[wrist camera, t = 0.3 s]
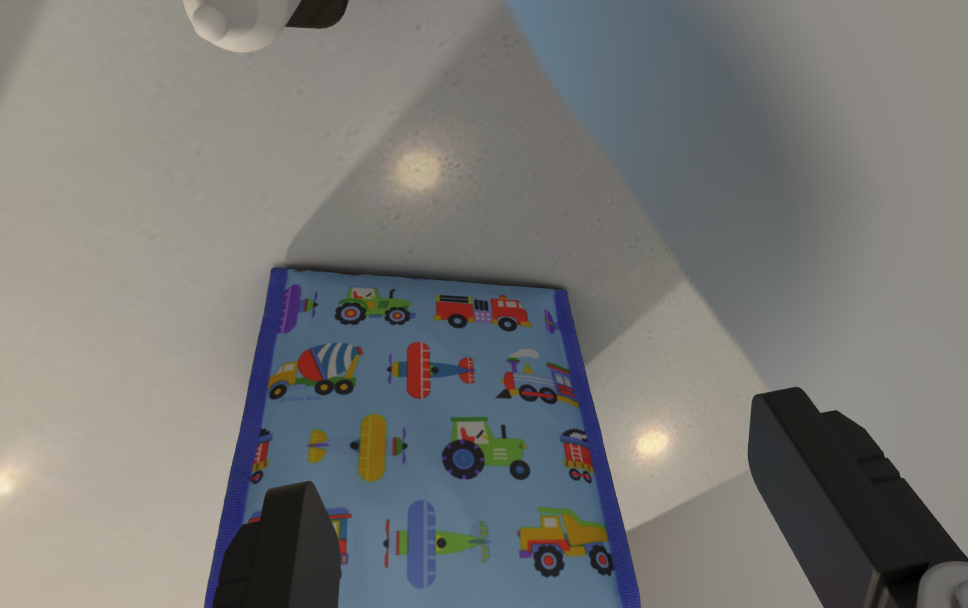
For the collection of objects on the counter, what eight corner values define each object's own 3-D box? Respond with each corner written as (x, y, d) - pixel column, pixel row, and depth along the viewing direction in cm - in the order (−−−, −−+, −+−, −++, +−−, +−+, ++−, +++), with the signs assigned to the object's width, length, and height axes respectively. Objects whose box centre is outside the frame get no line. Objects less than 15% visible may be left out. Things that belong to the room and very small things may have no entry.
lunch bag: (275, 402, 56) (182, 820, 32) (272, 257, 48) (148, 660, 24) (535, 412, 59) (627, 796, 35) (569, 279, 52) (713, 649, 28)
